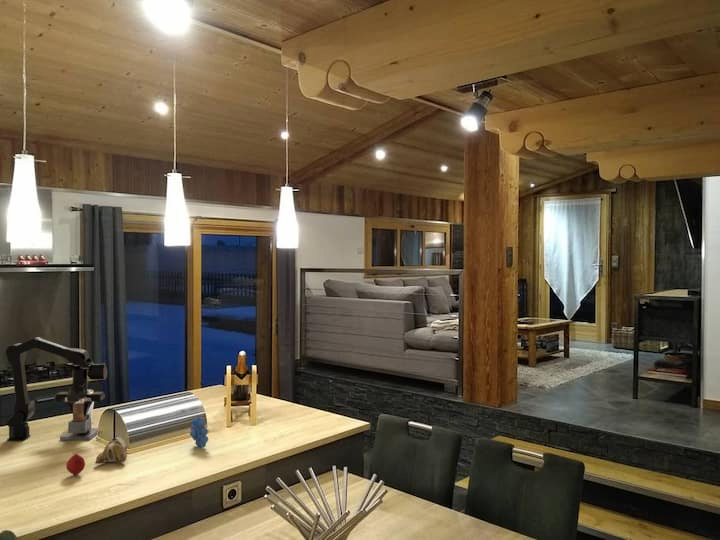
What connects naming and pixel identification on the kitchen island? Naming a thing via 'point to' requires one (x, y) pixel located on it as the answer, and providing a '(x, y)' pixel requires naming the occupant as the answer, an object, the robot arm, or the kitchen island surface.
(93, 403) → the beer glass
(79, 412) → the brown rectangular block
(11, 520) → the kitchen island surface
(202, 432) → the grapes
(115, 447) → the ceramic sculpture
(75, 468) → the onion
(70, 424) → the bracket
